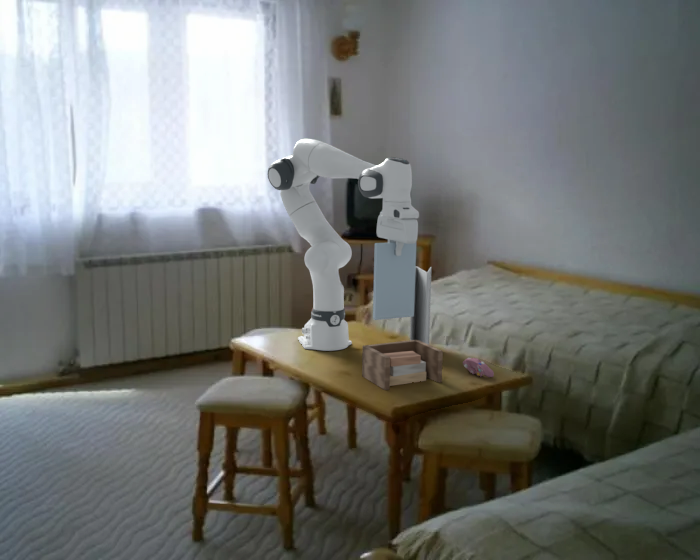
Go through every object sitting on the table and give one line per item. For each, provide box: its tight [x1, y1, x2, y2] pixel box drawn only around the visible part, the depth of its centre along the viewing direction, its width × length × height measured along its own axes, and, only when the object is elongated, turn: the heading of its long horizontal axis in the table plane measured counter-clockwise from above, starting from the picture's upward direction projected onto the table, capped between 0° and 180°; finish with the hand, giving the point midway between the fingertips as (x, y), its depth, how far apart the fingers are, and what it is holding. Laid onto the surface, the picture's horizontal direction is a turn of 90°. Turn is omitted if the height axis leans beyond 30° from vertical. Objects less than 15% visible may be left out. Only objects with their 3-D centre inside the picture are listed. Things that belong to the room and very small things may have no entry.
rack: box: [361, 339, 444, 391], centre depth 229 cm, size 15×20×10 cm
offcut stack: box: [384, 351, 427, 387], centre depth 228 cm, size 7×13×8 cm, turn 115°
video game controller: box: [462, 356, 495, 378], centre depth 234 cm, size 10×5×7 cm, turn 35°
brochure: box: [409, 266, 432, 345], centre depth 260 cm, size 14×6×30 cm, turn 168°
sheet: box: [372, 242, 417, 321], centre depth 230 cm, size 2×14×24 cm, turn 116°
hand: (395, 254), depth 229 cm, fingers closed on sheet, 2 cm apart
